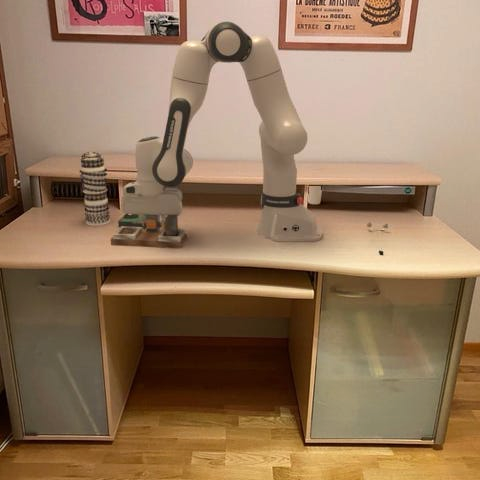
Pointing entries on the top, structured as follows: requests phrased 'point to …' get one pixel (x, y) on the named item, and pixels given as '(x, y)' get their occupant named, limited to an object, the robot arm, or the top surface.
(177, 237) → the wooden holder stand
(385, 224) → the diorama
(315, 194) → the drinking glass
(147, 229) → the grey orange block
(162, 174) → the robot arm
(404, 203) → the top surface
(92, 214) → the decorative candle
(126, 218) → the disk drive
